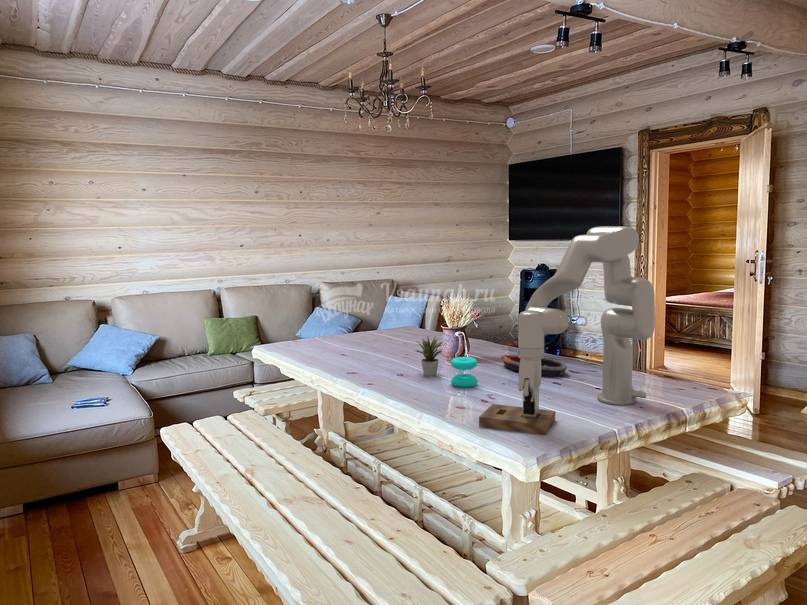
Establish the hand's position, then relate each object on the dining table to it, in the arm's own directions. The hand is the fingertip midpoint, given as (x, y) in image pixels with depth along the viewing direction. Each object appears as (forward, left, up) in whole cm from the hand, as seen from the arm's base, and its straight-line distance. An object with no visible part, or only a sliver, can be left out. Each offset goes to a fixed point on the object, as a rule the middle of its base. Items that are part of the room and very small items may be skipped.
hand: (530, 411), depth 181 cm
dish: (+15, -67, -5) cm, 69 cm away
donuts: (+34, -36, -4) cm, 50 cm away
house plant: (+51, -44, -4) cm, 67 cm away
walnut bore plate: (+4, 0, -4) cm, 6 cm away
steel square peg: (0, 0, -3) cm, 3 cm away
